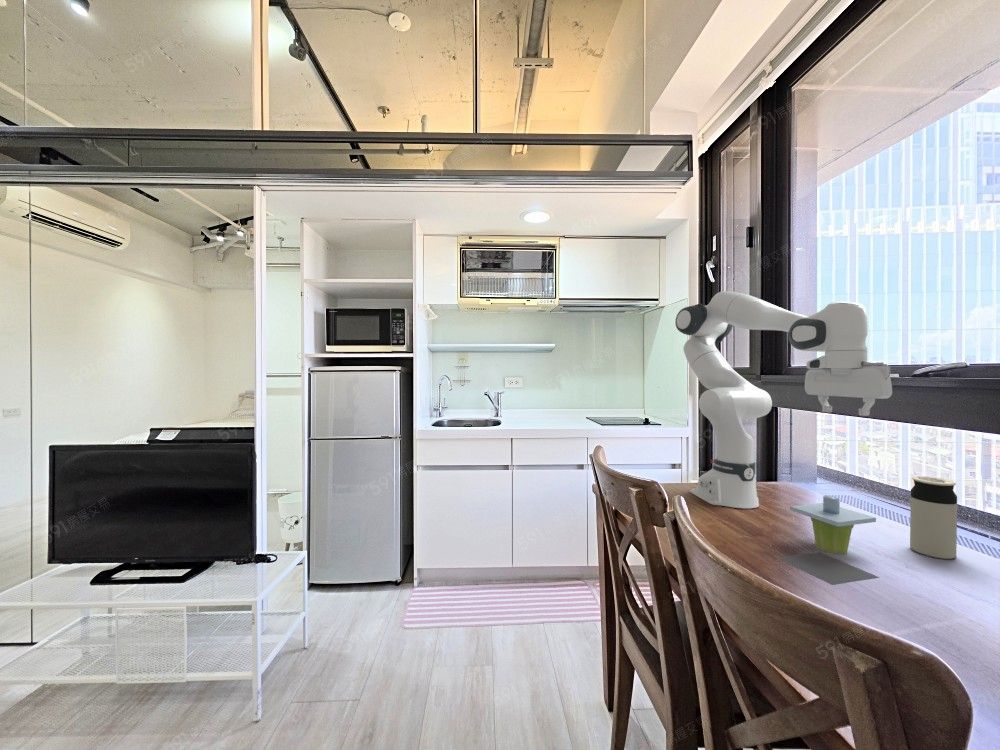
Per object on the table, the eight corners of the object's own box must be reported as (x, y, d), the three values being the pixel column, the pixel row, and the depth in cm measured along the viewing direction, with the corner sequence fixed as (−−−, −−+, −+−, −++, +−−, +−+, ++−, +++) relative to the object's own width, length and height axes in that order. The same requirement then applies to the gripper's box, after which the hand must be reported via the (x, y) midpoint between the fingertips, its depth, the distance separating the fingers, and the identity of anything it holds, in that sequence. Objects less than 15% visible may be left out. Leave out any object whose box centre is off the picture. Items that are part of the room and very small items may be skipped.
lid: (789, 510, 109) (790, 492, 109) (825, 506, 113) (825, 489, 113) (837, 526, 98) (838, 507, 98) (875, 521, 101) (876, 503, 101)
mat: (776, 560, 100) (776, 557, 100) (819, 554, 103) (819, 551, 103) (832, 587, 87) (832, 584, 87) (879, 580, 90) (879, 577, 90)
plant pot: (865, 560, 100) (865, 524, 100) (820, 557, 102) (820, 521, 101) (841, 544, 109) (842, 511, 109) (800, 541, 111) (801, 508, 111)
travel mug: (920, 556, 102) (921, 482, 102) (903, 544, 109) (904, 474, 109) (964, 562, 99) (965, 485, 99) (943, 549, 106) (944, 477, 106)
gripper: (899, 361, 104) (898, 417, 104) (817, 362, 124) (817, 410, 124) (880, 361, 103) (879, 418, 103) (800, 362, 122) (800, 410, 123)
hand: (844, 413), depth 114 cm, fingers open, 8 cm apart
